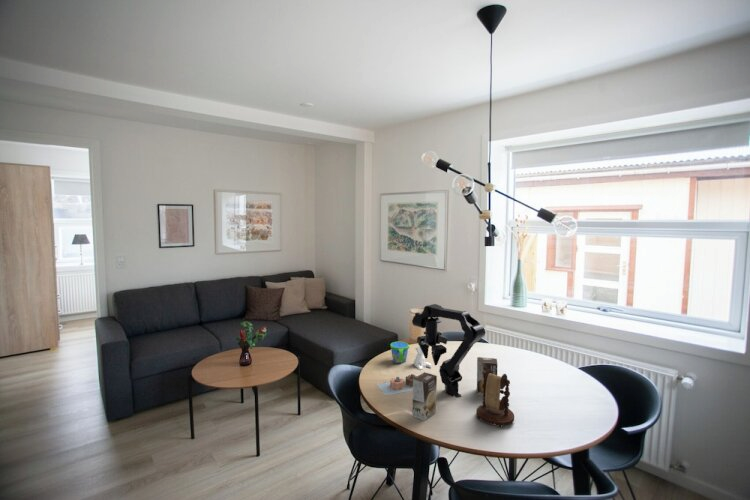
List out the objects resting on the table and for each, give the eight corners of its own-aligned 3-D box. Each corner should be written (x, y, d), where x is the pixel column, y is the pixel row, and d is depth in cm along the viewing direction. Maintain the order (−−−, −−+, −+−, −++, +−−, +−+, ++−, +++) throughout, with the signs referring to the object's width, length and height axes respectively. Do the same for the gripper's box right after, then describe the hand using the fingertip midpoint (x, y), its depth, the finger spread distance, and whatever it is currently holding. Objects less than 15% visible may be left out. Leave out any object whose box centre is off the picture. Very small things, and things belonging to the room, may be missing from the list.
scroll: (469, 418, 151) (470, 371, 149) (487, 405, 161) (488, 361, 159) (503, 433, 140) (505, 383, 139) (520, 418, 151) (522, 371, 149)
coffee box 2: (496, 391, 174) (497, 358, 173) (497, 397, 168) (498, 363, 167) (476, 389, 177) (477, 356, 175) (476, 395, 171) (477, 361, 169)
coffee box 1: (425, 421, 149) (425, 383, 147) (411, 416, 153) (412, 378, 151) (436, 412, 156) (437, 375, 154) (423, 407, 160) (424, 371, 159)
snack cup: (409, 367, 202) (409, 349, 201) (390, 367, 203) (390, 349, 202) (408, 356, 218) (408, 340, 217) (390, 356, 218) (390, 339, 217)
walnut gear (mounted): (422, 383, 180) (422, 374, 180) (413, 388, 175) (413, 379, 175) (411, 379, 185) (411, 370, 184) (402, 383, 180) (402, 374, 180)
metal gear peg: (399, 387, 177) (399, 377, 176) (396, 387, 176) (396, 378, 176) (398, 385, 178) (398, 376, 178) (395, 386, 178) (395, 377, 177)
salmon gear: (406, 388, 175) (406, 382, 175) (393, 390, 173) (394, 384, 173) (400, 382, 181) (400, 376, 181) (388, 384, 179) (388, 379, 179)
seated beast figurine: (420, 372, 196) (420, 350, 195) (408, 367, 203) (409, 346, 202) (432, 367, 202) (432, 346, 201) (420, 362, 209) (421, 342, 208)
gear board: (428, 389, 177) (428, 387, 177) (386, 397, 169) (386, 395, 169) (416, 378, 188) (416, 377, 188) (376, 386, 180) (376, 384, 180)
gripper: (456, 334, 173) (455, 366, 174) (435, 323, 190) (435, 352, 191) (436, 337, 168) (435, 370, 170) (416, 325, 186) (416, 355, 187)
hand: (430, 361), depth 180 cm, fingers open, 9 cm apart
